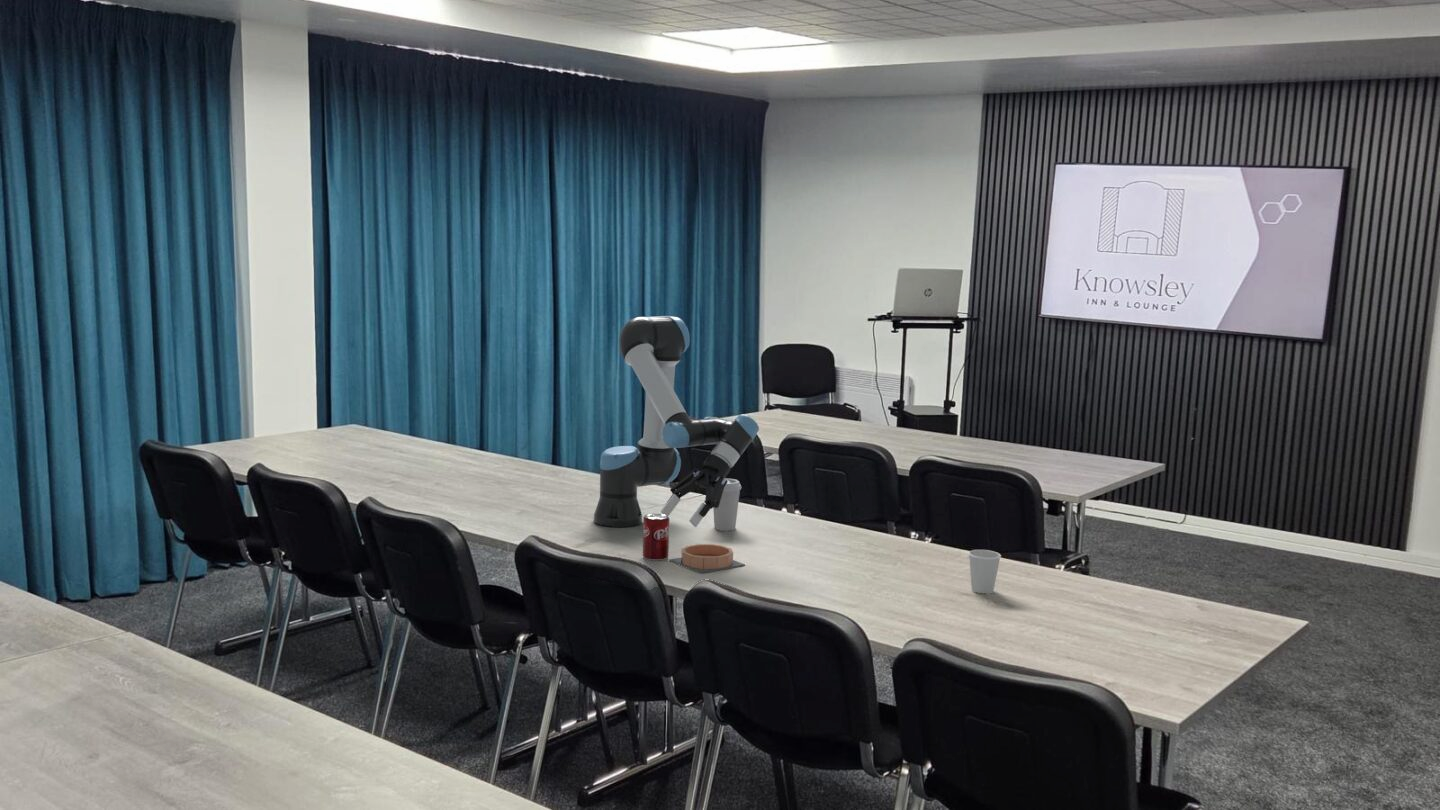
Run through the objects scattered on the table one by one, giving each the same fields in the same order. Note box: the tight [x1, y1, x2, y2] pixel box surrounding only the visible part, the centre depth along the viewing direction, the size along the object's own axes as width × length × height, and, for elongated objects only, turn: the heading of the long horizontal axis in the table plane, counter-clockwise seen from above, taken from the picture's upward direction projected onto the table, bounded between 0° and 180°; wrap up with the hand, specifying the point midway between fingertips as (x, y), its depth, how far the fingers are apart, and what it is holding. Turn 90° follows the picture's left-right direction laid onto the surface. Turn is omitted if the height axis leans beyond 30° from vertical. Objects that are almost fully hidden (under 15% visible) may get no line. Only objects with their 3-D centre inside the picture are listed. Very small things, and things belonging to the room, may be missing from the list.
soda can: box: [642, 513, 670, 562], centre depth 332 cm, size 7×7×12 cm
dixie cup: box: [968, 549, 1002, 595], centre depth 311 cm, size 8×8×10 cm
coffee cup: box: [712, 478, 742, 532], centre depth 369 cm, size 10×10×15 cm
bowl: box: [668, 543, 746, 575], centre depth 329 cm, size 15×15×4 cm
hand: (677, 519), depth 334 cm, fingers open, 13 cm apart
